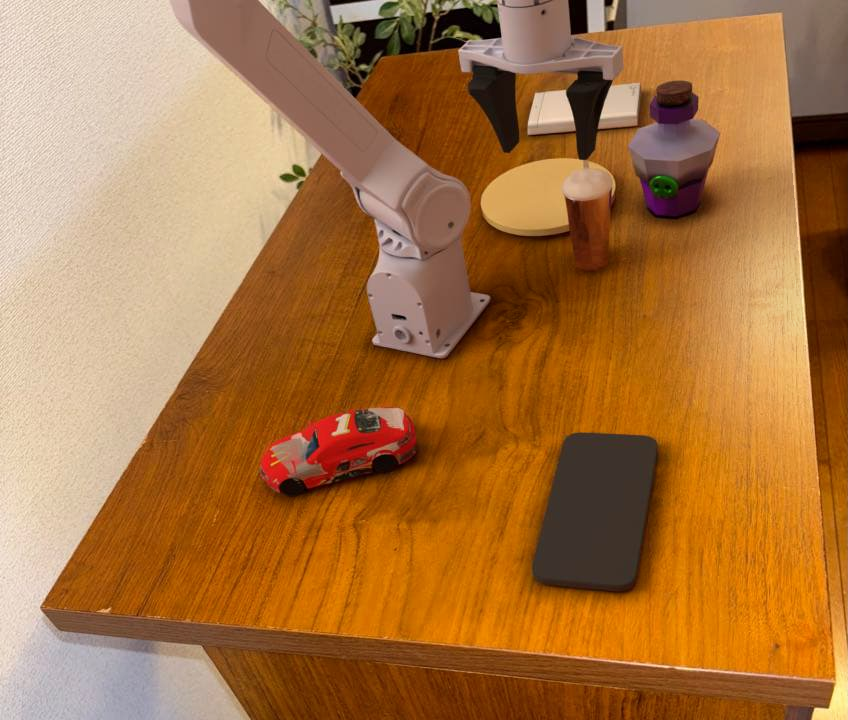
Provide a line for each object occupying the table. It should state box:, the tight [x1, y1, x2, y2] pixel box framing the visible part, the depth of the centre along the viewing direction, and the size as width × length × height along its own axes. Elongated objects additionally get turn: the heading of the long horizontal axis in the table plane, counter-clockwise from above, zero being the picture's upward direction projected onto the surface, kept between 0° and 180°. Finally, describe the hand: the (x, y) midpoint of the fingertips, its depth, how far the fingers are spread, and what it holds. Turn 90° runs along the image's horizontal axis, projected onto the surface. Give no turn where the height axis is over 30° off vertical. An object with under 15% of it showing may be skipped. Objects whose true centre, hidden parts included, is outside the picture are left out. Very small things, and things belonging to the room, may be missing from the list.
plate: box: [480, 157, 617, 237], centre depth 103 cm, size 14×14×1 cm
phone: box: [531, 431, 659, 592], centre depth 73 cm, size 7×1×15 cm
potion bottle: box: [627, 79, 721, 220], centre depth 94 cm, size 9×9×12 cm
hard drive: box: [527, 82, 642, 136], centre depth 114 cm, size 2×8×12 cm
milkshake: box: [562, 158, 612, 272], centre depth 91 cm, size 4×5×10 cm
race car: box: [259, 406, 419, 497], centre depth 80 cm, size 13×5×4 cm, turn 98°
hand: (548, 150), depth 89 cm, fingers open, 7 cm apart
